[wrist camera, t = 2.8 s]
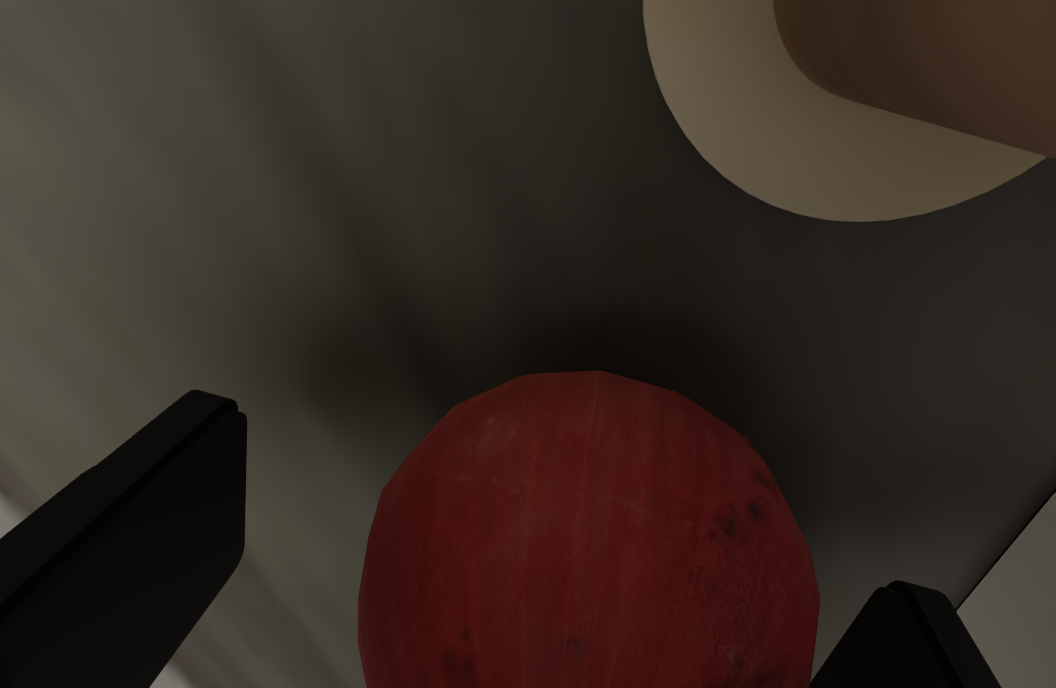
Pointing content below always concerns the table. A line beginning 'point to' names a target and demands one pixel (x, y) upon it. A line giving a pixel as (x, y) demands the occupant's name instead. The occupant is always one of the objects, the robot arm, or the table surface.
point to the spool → (860, 97)
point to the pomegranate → (585, 549)
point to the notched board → (1019, 608)
